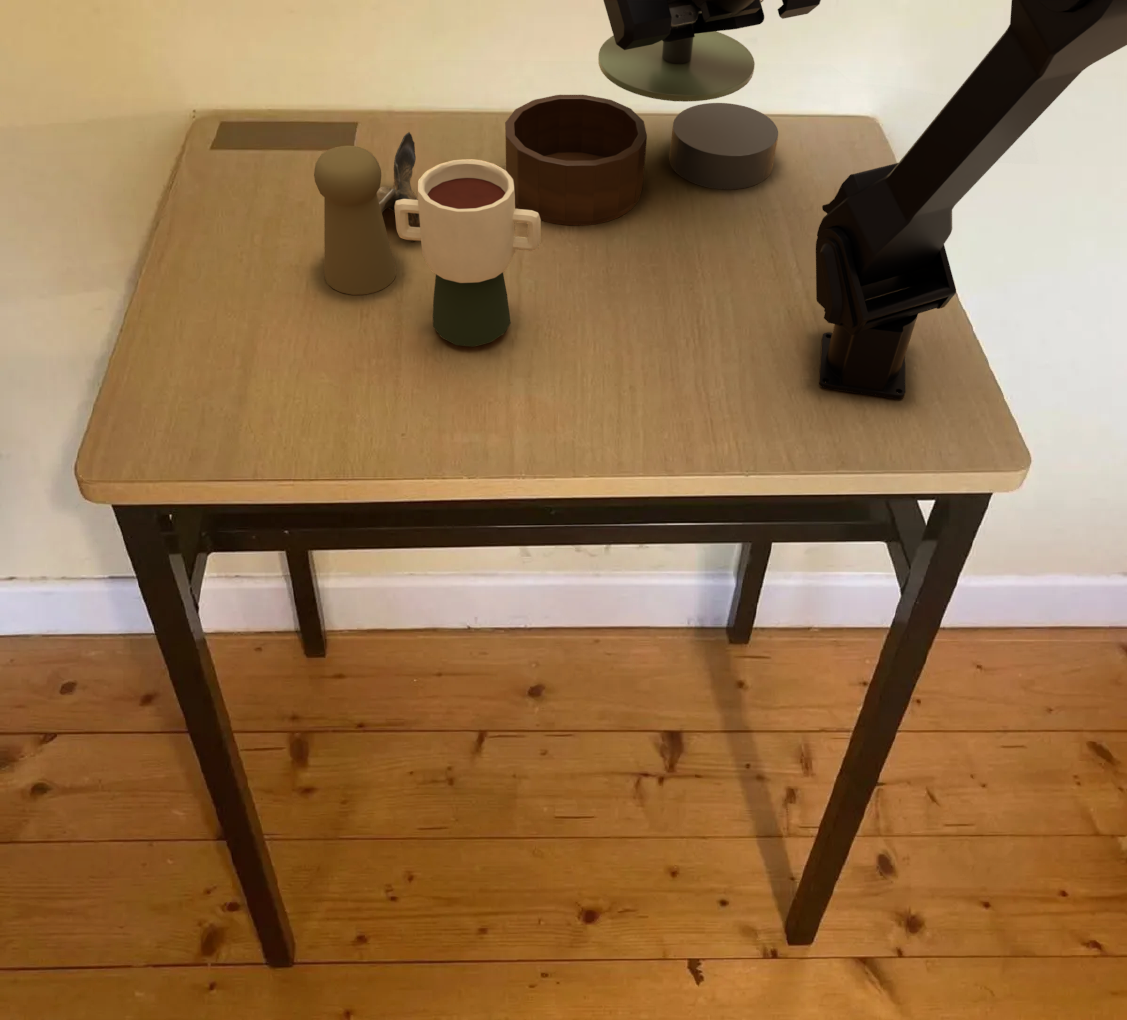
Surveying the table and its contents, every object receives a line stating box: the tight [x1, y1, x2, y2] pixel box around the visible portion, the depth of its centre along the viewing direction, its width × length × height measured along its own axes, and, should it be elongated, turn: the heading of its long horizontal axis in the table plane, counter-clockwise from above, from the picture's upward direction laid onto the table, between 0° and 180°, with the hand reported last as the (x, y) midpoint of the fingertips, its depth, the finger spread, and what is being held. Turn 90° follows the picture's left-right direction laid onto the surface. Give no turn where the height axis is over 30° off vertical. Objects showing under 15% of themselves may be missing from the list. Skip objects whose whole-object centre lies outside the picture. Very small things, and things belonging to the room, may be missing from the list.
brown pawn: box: [313, 145, 397, 296], centre depth 91 cm, size 6×6×11 cm
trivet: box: [669, 102, 779, 190], centre depth 107 cm, size 10×10×4 cm
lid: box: [597, 22, 756, 103], centre depth 97 cm, size 14×14×6 cm
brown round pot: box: [504, 94, 648, 226], centre depth 102 cm, size 13×13×6 cm
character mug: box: [394, 158, 542, 348], centre depth 85 cm, size 11×7×13 cm, turn 83°
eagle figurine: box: [377, 131, 420, 243], centre depth 98 cm, size 8×7×9 cm
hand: (670, 31), depth 98 cm, fingers closed on lid, 3 cm apart
